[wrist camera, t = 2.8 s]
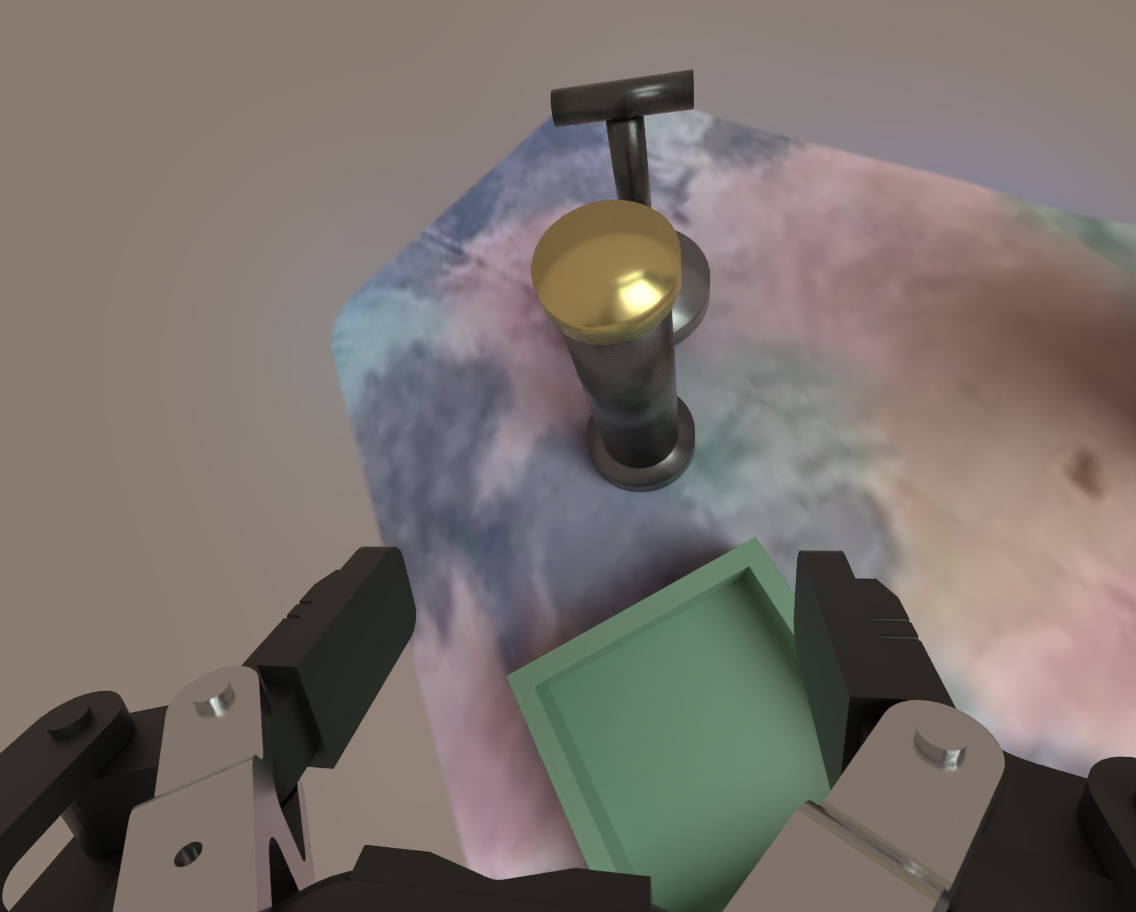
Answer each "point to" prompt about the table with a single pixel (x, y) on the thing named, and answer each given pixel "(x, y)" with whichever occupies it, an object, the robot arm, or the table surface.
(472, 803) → the table surface
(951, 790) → the robot arm
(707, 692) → the tray
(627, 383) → the pin
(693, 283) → the t-handle
